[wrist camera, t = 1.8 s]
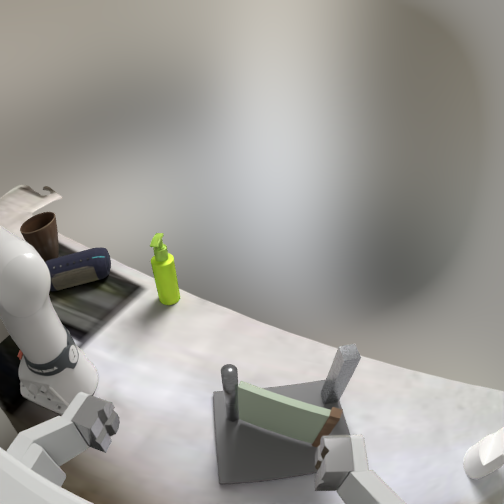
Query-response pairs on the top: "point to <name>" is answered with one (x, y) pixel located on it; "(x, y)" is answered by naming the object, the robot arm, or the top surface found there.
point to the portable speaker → (79, 268)
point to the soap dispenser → (164, 272)
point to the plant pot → (42, 234)
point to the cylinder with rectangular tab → (485, 456)
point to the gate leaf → (285, 414)
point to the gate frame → (268, 442)
